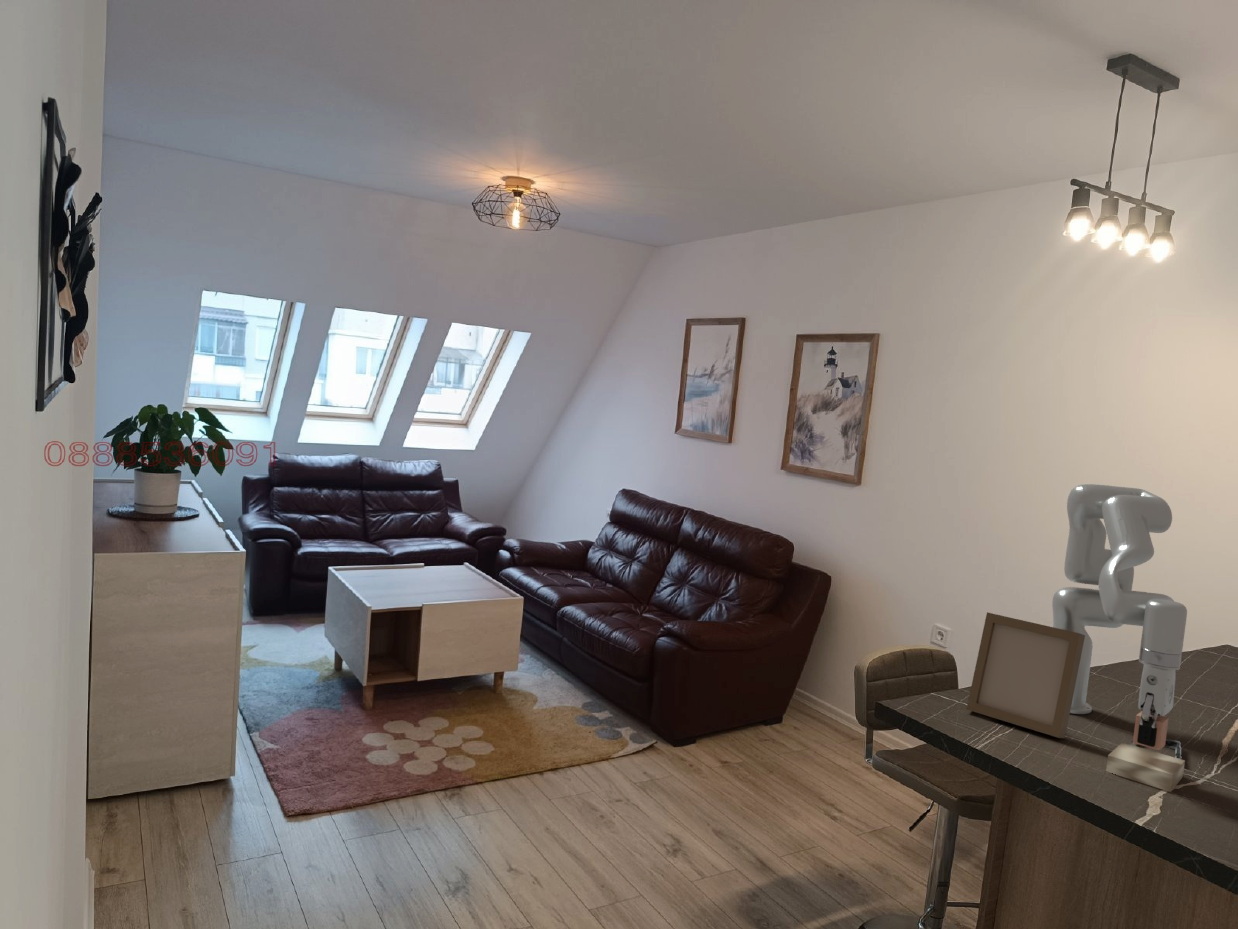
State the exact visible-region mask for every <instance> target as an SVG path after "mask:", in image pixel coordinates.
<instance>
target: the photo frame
mask: <svg viewBox="0 0 1238 929" xmlns="http://www.w3.org/2000/svg"><path fill="white" fill-rule="evenodd" d="M1084 639H1085V635H1083V634H1080V633H1076V632H1072V631H1067V630H1063V629H1058V628H1054V627H1053V626H1049V625H1045V624H1040V623H1037V622H1031V621H1027V620H1022V619H1017V618H1014V617H1010V616H1009V617H1008V616H1005V615H1000V614H996V613H991V612H986V615H985V620H984V624H983V629H982V634H981V638H980V645H979V647H978V648H979V649H978V653H977V657H976V663H975V668H974V672H973V677H972V682H971V686H970V691H969V696H968V700H967V706H966V710H968V711H970V712H974V713H977V714H980V715H984V716H987V717H990V718H994V719H996V720H1000V721H1002V722H1006V723H1008V724H1009V723H1010V724H1013V725H1016V726H1019V727H1022V728H1025V729H1029V730H1033V731H1035V732H1039V733H1042V734H1045V735H1049V736H1051V737H1054V738H1057V739H1066V734H1067V729H1068V724H1069V723H1068V722H1069V719H1070V715H1071V713H1070V710H1071V705H1072V699H1073V694H1074V689H1075V684H1076V679H1077V674H1078V669H1079V664H1080V659H1081V654H1082V649H1083V644H1084Z"/></svg>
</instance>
